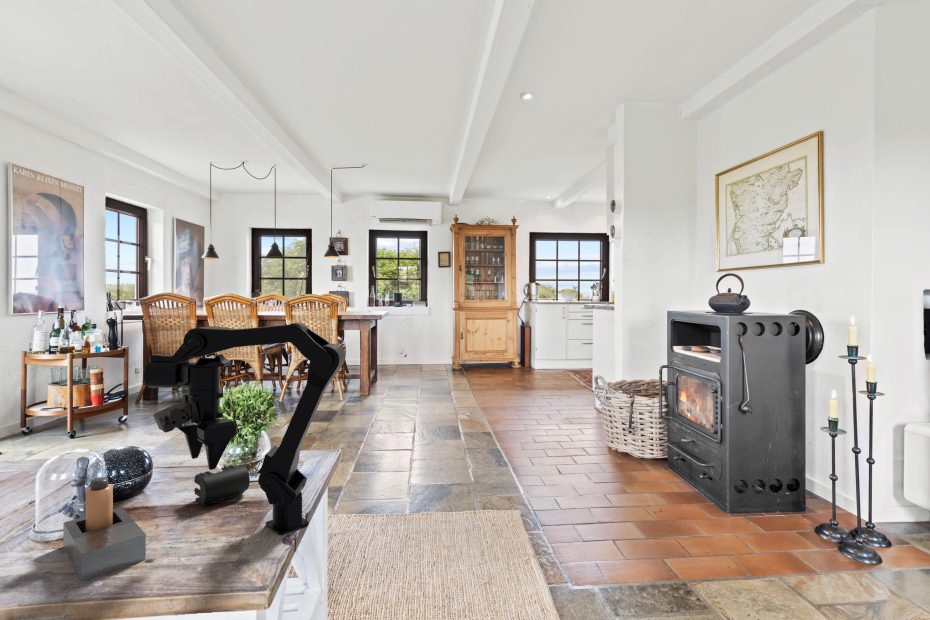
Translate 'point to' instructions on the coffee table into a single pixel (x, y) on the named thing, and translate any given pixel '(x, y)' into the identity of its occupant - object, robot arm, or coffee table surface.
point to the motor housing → (104, 545)
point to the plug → (99, 504)
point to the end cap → (221, 484)
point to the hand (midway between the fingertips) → (203, 463)
